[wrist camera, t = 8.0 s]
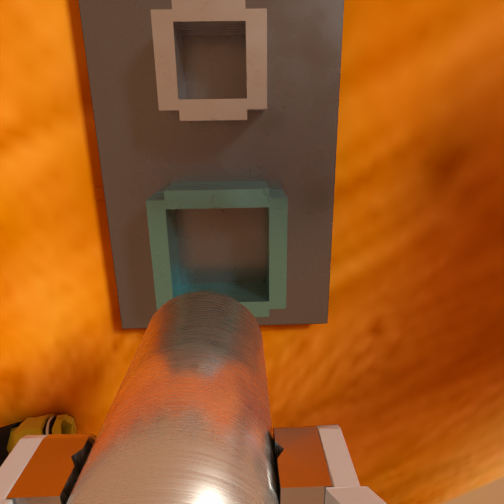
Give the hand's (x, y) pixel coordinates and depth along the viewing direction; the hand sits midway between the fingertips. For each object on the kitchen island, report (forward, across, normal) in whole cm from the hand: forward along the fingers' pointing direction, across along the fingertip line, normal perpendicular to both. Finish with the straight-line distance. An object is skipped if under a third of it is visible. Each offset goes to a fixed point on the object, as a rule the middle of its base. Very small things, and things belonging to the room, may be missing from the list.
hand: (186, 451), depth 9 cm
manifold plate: (+18, 0, -5) cm, 19 cm away
